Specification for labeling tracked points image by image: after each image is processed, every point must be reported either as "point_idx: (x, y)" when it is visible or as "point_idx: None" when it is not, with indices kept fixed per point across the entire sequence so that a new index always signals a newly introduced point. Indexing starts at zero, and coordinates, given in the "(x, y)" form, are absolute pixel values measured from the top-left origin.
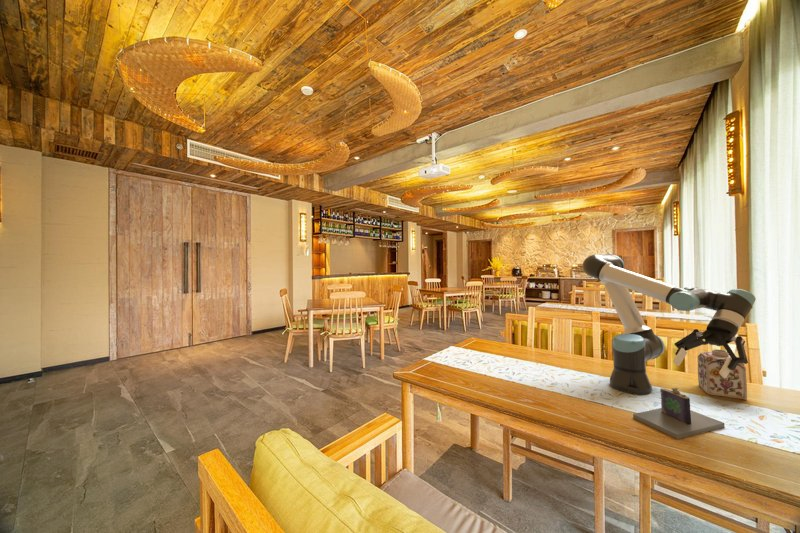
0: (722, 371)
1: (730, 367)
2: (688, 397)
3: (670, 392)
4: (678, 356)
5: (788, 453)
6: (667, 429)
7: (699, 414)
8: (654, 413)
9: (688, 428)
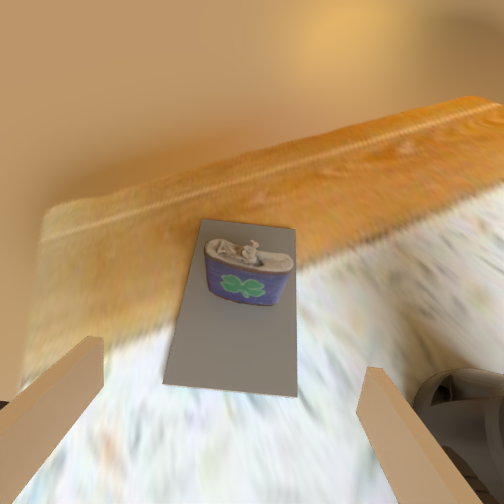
0: (77, 348)
1: (2, 405)
2: (207, 249)
3: (258, 250)
4: (393, 406)
5: (32, 365)
6: (222, 222)
7: (225, 380)
8: None
9: (202, 261)
